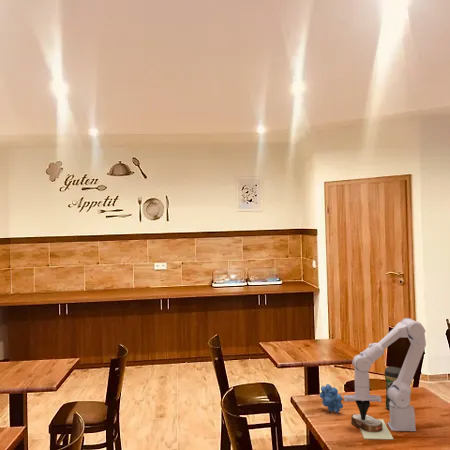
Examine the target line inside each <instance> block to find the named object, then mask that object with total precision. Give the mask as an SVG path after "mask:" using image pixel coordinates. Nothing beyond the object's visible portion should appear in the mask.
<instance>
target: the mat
mask: <svg viewBox="0 0 450 450" xmlns="http://www.w3.org/2000/svg"><path fill="white" fill-rule="evenodd" d="M377 419H378V420H379V421H381V422H382V428H383V430H382V431H380V432H367V431H364V430H363V429H361V428H359V430H360V432H361V435H362V437H363V440H390V441H391V440H394V437H393V436H392V434H391V430H390V429H389V427H388V425H387V424H386V423H385V420H384V418H381V419H380V418H377ZM394 441H395V440H394Z"/></svg>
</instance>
